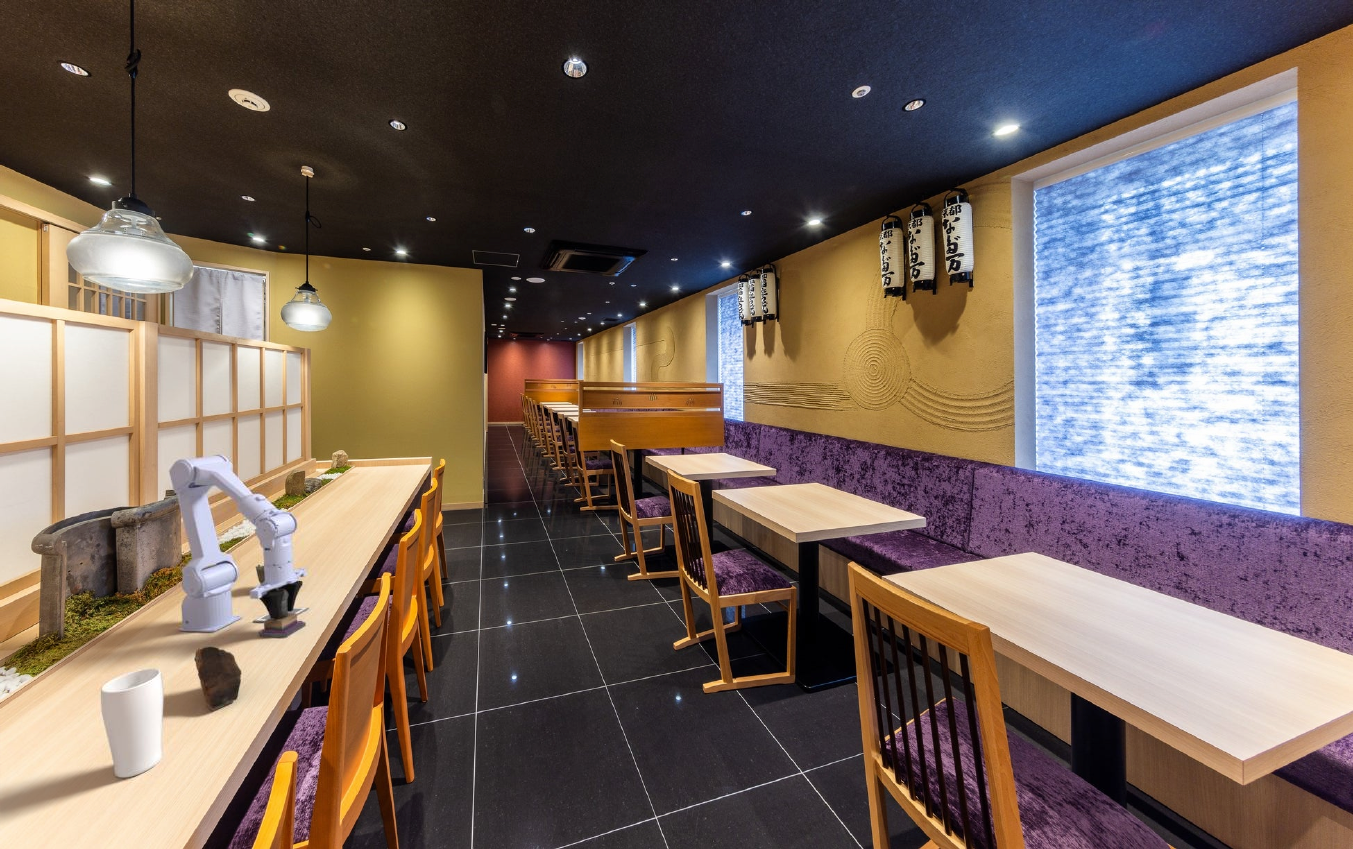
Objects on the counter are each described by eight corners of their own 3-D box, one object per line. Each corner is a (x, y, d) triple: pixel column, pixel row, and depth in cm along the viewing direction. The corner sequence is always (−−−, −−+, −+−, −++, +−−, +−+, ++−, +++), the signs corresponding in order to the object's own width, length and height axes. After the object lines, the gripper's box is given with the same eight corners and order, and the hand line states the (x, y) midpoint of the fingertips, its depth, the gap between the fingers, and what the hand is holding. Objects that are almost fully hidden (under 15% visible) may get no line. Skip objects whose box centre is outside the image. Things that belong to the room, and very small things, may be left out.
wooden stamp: (264, 629, 123) (263, 592, 123) (279, 621, 128) (278, 585, 127) (282, 629, 123) (281, 593, 122) (297, 621, 127) (296, 586, 127)
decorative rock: (194, 692, 101) (190, 641, 100) (233, 678, 106) (230, 630, 105) (204, 717, 93) (200, 662, 92) (246, 701, 98) (242, 649, 97)
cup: (270, 595, 147) (269, 569, 146) (250, 593, 148) (249, 567, 147) (294, 585, 154) (293, 560, 153) (275, 583, 155) (274, 558, 155)
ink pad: (259, 636, 123) (258, 630, 123) (279, 624, 129) (279, 619, 129) (286, 637, 123) (285, 631, 122) (305, 625, 128) (305, 620, 128)
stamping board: (252, 622, 130) (252, 620, 130) (280, 608, 138) (280, 606, 138) (283, 623, 130) (283, 621, 130) (308, 608, 138) (308, 607, 138)
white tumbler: (163, 745, 86) (157, 663, 85) (173, 763, 82) (166, 676, 81) (104, 770, 80) (96, 682, 79) (111, 790, 76) (103, 698, 75)
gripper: (268, 573, 117) (272, 628, 118) (316, 552, 131) (319, 602, 132) (240, 572, 117) (244, 627, 118) (291, 552, 132) (294, 601, 133)
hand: (281, 614), depth 125 cm, fingers closed on wooden stamp, 3 cm apart
